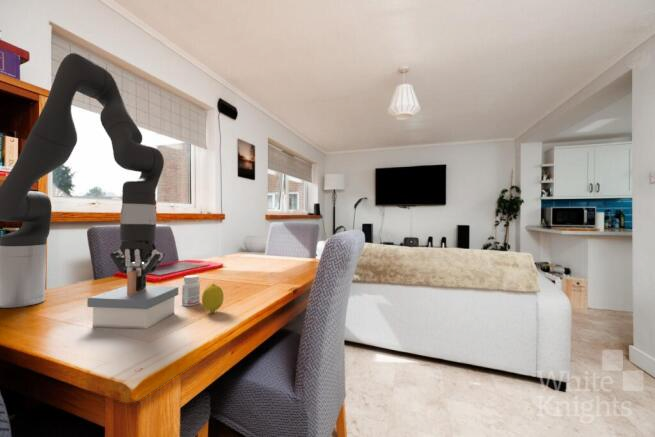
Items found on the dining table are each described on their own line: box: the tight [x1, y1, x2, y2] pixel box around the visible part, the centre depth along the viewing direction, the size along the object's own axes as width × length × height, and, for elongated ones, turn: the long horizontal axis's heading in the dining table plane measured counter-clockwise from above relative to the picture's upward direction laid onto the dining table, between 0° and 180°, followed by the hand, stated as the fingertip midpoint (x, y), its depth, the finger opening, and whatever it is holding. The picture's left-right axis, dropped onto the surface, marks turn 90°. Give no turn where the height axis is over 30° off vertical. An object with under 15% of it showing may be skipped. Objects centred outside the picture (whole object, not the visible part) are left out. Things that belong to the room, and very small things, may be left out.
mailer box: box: [92, 296, 176, 330], centre depth 71 cm, size 13×11×6 cm
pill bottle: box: [181, 274, 201, 307], centre depth 84 cm, size 5×5×8 cm
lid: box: [86, 270, 179, 309], centre depth 71 cm, size 14×12×8 cm
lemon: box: [201, 283, 224, 313], centre depth 77 cm, size 6×6×8 cm
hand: (136, 290), depth 71 cm, fingers closed on lid, 1 cm apart
